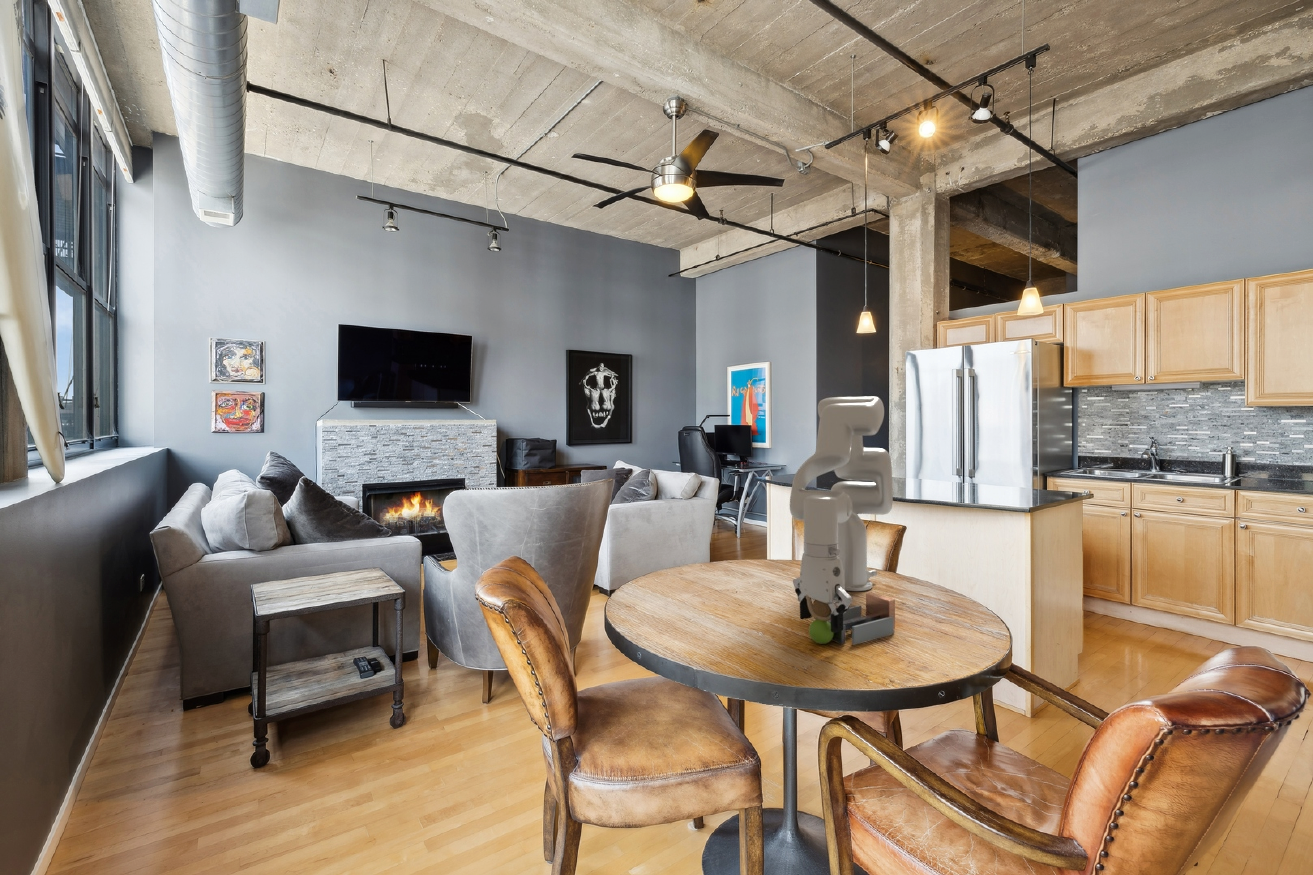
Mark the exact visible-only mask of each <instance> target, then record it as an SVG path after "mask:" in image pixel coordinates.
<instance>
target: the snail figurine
mask: <svg viewBox="0 0 1313 875" xmlns="http://www.w3.org/2000/svg"><path fill="white" fill-rule="evenodd" d="M805 590H806V589H805ZM806 599H807V605H808V608H809V611H810V613H811V615H812V617H813V618H815V619H814V620H812V622H810V624H809V627H808V633H809V637H810V638H811V640H812V641H813V642H815V643H817V644H820V645H825V644H828V643H829V642H831V641H833V640H832V638H833V635H834V633H833V632H831V624H830V623H829V622H828V621H829V620H830V619H831V616H829V615H830V614H831V612H832V610H831V608H830V606H829V604H826V603H823V602H820V601H817V600H814V601H812V600H813V599H812V598H810V597H808V595H807V594H806Z"/></svg>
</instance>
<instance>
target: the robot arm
mask: <svg viewBox="0 0 1313 875" xmlns="http://www.w3.org/2000/svg"><path fill="white" fill-rule="evenodd" d="M817 414H818V417H819V423H818V430H817V437H816V446H815V452H814V453H813V454H812V455H811V456H810V457H808V458H807V460H805V461H804V462H803V463H802V464H801V465H800V467H799V468H798V469H797V471H796V473H795V475H794V476H793V480H792V485H791V489H790V490H791V491H790V498H789V512H790V514H791V516H792V517H793V519H795V520H797V521H801V522H803V552H802V557H801V561H800V570H799V577H796V578H795V579H793V580H792V583H793V587H794V589H795V590H794V592H795V594H796V596H797V600H798V601H797V602H799V619H800V620H807V619H811V618H812V617H813V616H812V615H811V613H810V611H809V608H808V605H807V599H806V594H807V595H808V597H810V598H811V600H814V601H815V600H817V601H820V602H823V603H826V604H829V606H830V608H831V610H832V612H833V614H831V632H833V633H835V632H839V631H842V630H843V614H844V613H846V611H847V610H848V609H849V608H850V605H851V603H852V601H853V597H852V596H851V595H850V594H849V593H848V592H864V591H868V590H871V589H872V588H873V582H872V581H871V580H870V578H872V577H877V575H878V572H877V570H876V569H872V570H869V569H868V531H867V526H866V524H865V523H864V521H863V520H862V518H861V517H860V516H859V515H862V514H863V515H877V516H878V515H881V516H883V515H888V514H890V513H891V511H892V508H893V504H894V503H893V502H894V501H893V497H894V496H893V495H894V493H893V470H892V469H893V468H892V460H891V455H890V454H889V451H887V450H886V449H884V448H880V447H865V446H864V443H863V442H864V441H863V436H865V437H866V436H868V437H869V436H875V435H876V434H877V433H878V432H879V430H880V428H881V426H882V424H883V421H884V416H885V407H884V403H883V401H882V399H881V398H880V397H879V396H837V397H836V396H835V397H826V398H824V399H821V400H819V402H818V404H817ZM831 471H834V474H835V475H836V477H837V478H839V479H842V480H845V481H838V482H837V483H835V484H833V485H832V487H831V489H830V490H823V489H822V490H816V489H815V490H814V489H806V488H807V486H808V484H809V483H811V481H813V480H814V479H815V478H817V477H819V476H821V475H824V474H827V473H829V472H831ZM805 589H806V590H805ZM847 591H848V592H847Z"/></svg>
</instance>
